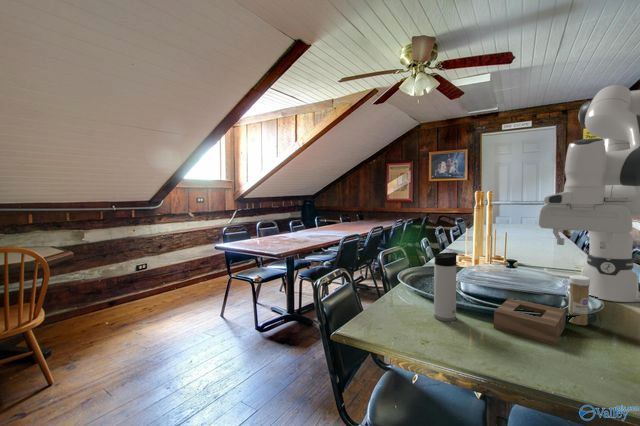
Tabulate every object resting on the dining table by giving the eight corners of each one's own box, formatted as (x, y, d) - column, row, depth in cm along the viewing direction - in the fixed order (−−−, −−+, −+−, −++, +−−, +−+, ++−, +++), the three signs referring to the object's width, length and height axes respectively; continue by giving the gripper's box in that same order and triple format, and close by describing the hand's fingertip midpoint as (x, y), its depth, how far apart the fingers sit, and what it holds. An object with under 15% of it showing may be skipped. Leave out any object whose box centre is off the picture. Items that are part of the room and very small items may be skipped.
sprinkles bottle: (580, 326, 89) (582, 280, 88) (563, 320, 93) (565, 275, 92) (591, 324, 90) (594, 278, 89) (575, 318, 95) (577, 273, 94)
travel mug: (460, 321, 94) (461, 255, 93) (438, 321, 95) (438, 255, 93) (452, 313, 101) (452, 250, 99) (431, 313, 101) (431, 251, 99)
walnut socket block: (509, 313, 99) (509, 297, 99) (565, 327, 89) (565, 309, 89) (493, 328, 90) (494, 311, 89) (554, 345, 80) (555, 326, 79)
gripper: (636, 197, 84) (633, 249, 85) (543, 196, 98) (541, 241, 99) (635, 198, 79) (632, 253, 80) (538, 197, 94) (536, 243, 95)
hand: (581, 246), depth 90 cm, fingers open, 8 cm apart
